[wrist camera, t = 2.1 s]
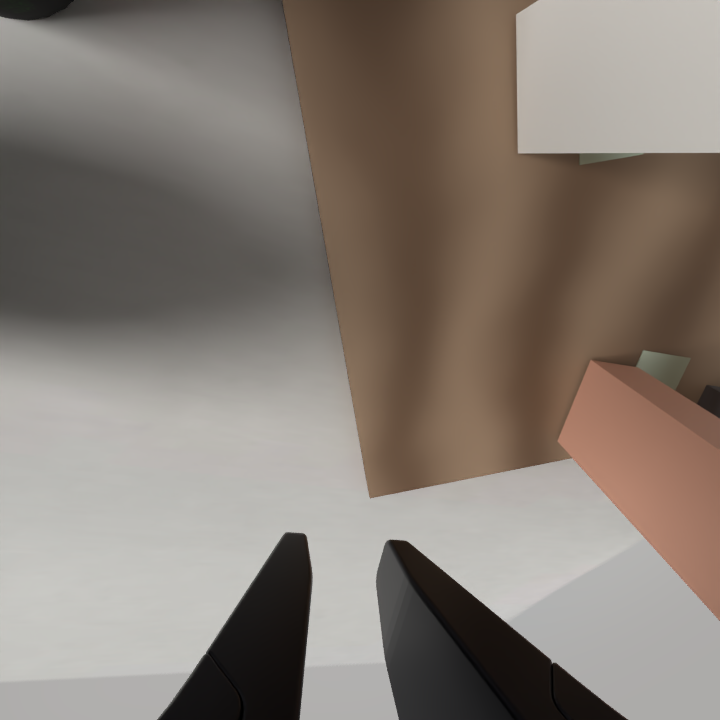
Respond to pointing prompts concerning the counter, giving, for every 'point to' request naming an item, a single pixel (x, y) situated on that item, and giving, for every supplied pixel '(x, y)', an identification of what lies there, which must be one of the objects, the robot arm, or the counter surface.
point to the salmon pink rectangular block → (653, 466)
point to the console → (487, 243)
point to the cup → (31, 8)
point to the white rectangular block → (618, 76)
